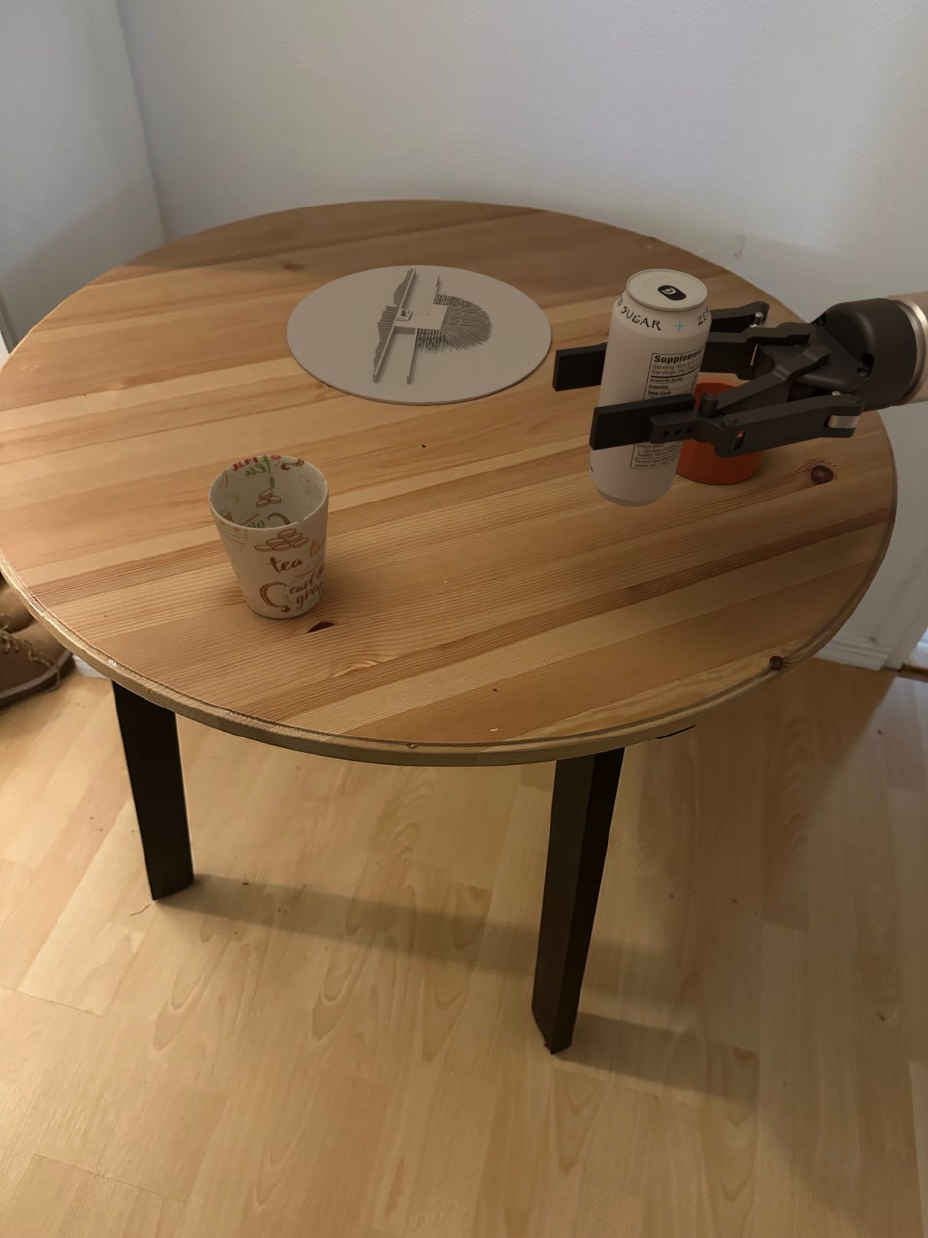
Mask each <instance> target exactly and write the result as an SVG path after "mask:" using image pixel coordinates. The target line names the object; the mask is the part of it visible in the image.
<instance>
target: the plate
mask: <svg viewBox="0 0 928 1238" xmlns="http://www.w3.org/2000/svg"><path fill="white" fill-rule="evenodd" d="M286 341H287V342H286V343H287V345H288V346H287V347H288V349H289V351H290V353H291V355H292V357H293V359H294V360H295V362H297V363H298V364H299V366H300V367H301V368H302V369H303V370H305V372H307V373H308V374H310V375H311V376H312V377H313V378H315V379H316V380H318V381H319V382H321V383H323V384H325V385H327V386H329V387H331V388H333V389H335V390H337V391H339V392H342V393H345V394H348V395H350V396H354V397H357V398H361V399H364V400H369V401H375V402H379V403H380V402H381V403H386V404H394V405H403V406H404V405H405V406H406V405H407V406H436V405H437V406H438V405H450V404H456V403H462V402H467V401H468V402H469V401H471V400H476V399H481V398H484V397H487V396H490V395H492V394H495V393H498V392H502V391H503V390H506V389H509V388H511V387H512V386H515V385H516V384H518V383H521V382H522V381H523V380H525V379H526V378H527V377H529V376H530V375H531V374H532V373H534V372H535V371H536V370H537V369H538V368H539V367H540V366H541V364H542V363H543V362H544V361H545V359H546V357H547V355H548V353H549V351H550V346H551V342H552V328H551V324H550V322H549V319H548V318H547V315H546V314H545V312H544V311H543V309H542V308H541V307H540V305H538V304H537V302H535V301H534V300H533V299H532V298H530V297H529V296H528V295H527V294H525V293H524V292H522V291H521V290H519V289H518V288H516V287H514V286H512V285H510V284H509V283H507V282H505V281H502V280H499V279H497V278H495V277H491V276H490V275H486V274H483V273H479V272H476V271H471V270H467V269H462V268H456V267H450V266H442V265H429V264H428V265H427V264H411V265H406V264H405V265H394V266H385V267H378V268H377V267H376V268H371V269H367V270H363V271H359V272H355V273H351V274H349V275H345V276H343V277H340V278H337V279H334V280H332V281H329V282H328V283H326V284H325V283H324V284H323V285H321V286H319V287H318V288H316V289H315V290H313V291H312V292H310V293H309V294H308V295H306V296H305V297H304V298H303V299H302V300H300V302H299V303H298V304H296V306H295V307H294V309H293V310H292V312H291V314H290V315H289V318H288V321H287V324H286Z"/></svg>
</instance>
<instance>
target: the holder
mask: <svg viewBox="0 0 928 1238" xmlns="http://www.w3.org/2000/svg"><path fill="white" fill-rule="evenodd" d="M739 385H742V383H739V382H733V381H730V380H725V379H718V378H717V379H716V378H713V379H711V378H698V380H697V384H696V388H695V392H694V398H695V399H696V402H695V406H694V408H699V404H700V400H701V396H702V393H703V391H705V390H706V395H705V397H706V396H707V393H708V392H709V393H710V394H711V395H713V396H715V395H717V394H720V393H722V392H725V391H727V390H729V389H732V388H734V387H737V386H739ZM742 435H743V431H739V435H738V437H741V436H742ZM714 448H715V446H713V445H712V444H710V443H709V442H706V443H700V442H697V441H695V440H694V439H688V440H683V443H682V447H681V451H680V456H679V460H678V464H677V468H676V472H675V474H678V475H680V476H681V477H684V478H686V479H688V480H691V481H694V482H696V483H701V484H706V485H717V486H721V485H726V486H727V485H733V484H737V483H740V482H743V481H745V480H747V479H749V478H751V477H752V476H753V475H754V474H755V473H756V472H757V471H758V469H759V467H760V463H761V460H762V457H763V454H764V451H765V450H762V451H758V452H753V453H749V454H744V455H739V456H735V457H730V458H721V457H718V456H717V455H715V453H714Z"/></svg>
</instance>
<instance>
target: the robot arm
mask: <svg viewBox="0 0 928 1238" xmlns="http://www.w3.org/2000/svg"><path fill="white" fill-rule="evenodd" d="M770 307H771V306H770V303H768V302H765V301H762V300H761V301H760V300H757V301H753V302H749V303H747V304H744V305H741V306H738V307H729V308H716V309H715V308H714V309H709V311H710V314H711V325H710V329H709V334H708V338H707V342H706V346H705V350H704V355H703V359H702V363H701V367H700V371H699V373H707V374H710V373H711V374H733V375H735V376H736V377H737V379H738V380H739V381H747V382H744V383H741V385H739V386H737V387H734V388H732V389H729V390H727V391H725V392H722V393H720V394H717V395H715V396H713V395H711V394H710V393H709V392H708V393H707V396H706V397H705V395H706V390H705V391H703V393H702V396H701V400H700V404H699V408H694V406H695V402H696V399H695V398H694V396H693V395H692V394H691V393H687V394H681V395H675V396H668V397H661V398H654V399H648V400H641V401H634V402H628V403H621V404H614V405H608V406H601V407H598V406H595V407H594V406H593V407H594V408H593V414H592V420H591V428H590V432H589V439H588V445H589V447H590V449H591V448H592V450H593V451H595V450H601V449H607V448H613V447H619V446H626V445H632V444H638V443H644V442H650V443H651V444H663V443H667V442H668V443H669V442H673V441H674V442H675V441H681V440H688V439H694V440H695V441H697V442H700V443H706V442H709V443H710V444H712V445H713V446H715V448H714V453H715V455H717V456H718V457H721V458H730V457H735V456H739V455H744V454H749V453H753V452H758V451H762V450H764V451H766V450H771V449H775V448H780V447H784V446H789V445H793V444H797V443H804V442H807V441H813V440H817V439H820V438H823V439H851V438H852V437H853V436H854V434H855V431H856V429H857V426H858V424H859V421H860V418H861V416H862V414H863V413H867V412H873V411H874V412H875V411H878V410H879V411H881V410H885V409H889V408H890V407H901V406H907V405H913V404H919V403H924V402H925V403H926V402H928V290H925V291H924V290H923V291H917V292H909V293H908V292H907V293H900V294H892V295H888V296H886V297H874V298H866V299H859V300H852V301H843V302H839V303H836V304H834V305H832V306H830V307H828V308H827V309H826V310H825V311H824V312H822V313H821V314H820V315H819V316H817V317H816V318H815V319H813V321H810V322H796V321H784V322H781V323H779V322H778V321H776V320H774V319H773V318H771V317H770V316H768V314H769V312H770ZM607 343H608V341H603V342H600V343H598V344H592V345H585V346H575V347H570V348H563V349H556V350H555V353H554V354H555V355H554V362H553V363H554V365H553V372H552V374H553V375H552V382H551V387H552V388H553V389H554V392H556V393H557V392H564V391H570V390H578V389H584V388H592V387H597V386H601V382H602V376H603V369H604V363H605V356H606V350H607ZM739 431H743V435H742V436H741V437H738V435H739Z"/></svg>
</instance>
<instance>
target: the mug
mask: <svg viewBox="0 0 928 1238" xmlns="http://www.w3.org/2000/svg"><path fill="white" fill-rule="evenodd" d="M329 500H330V489H329V484H328V481H327V479H326V477H325V475H324V474H323V472H322V471H321V470H320V469H319V468H318V467H317V466H315V465H313V464H312V463H310V462H309V461H307V460H305V459H302V458H298V457H295V456H290V455H283V454H266V455H264V454H263V455H257V456H252V457H249V458H245V459H243V460H240V461H238V462H235V463H233V464H231V465H230V466H228V467H226V468H225V469H224V470H222V471H221V472H220V473H219V474H218V475H217V476H216V477H215V478H214V480H213V481H212V482H211V484H210V486H209V489H208V494H207V502H208V506H209V510H210V513H211V516H212V519H213V522H214V524H215V526H216V529H217V532H218V534H219V537H220V539H221V541H222V542H221V543H222V544H223V547H224V549H225V551H226V554H227V557H228V560H229V563H230V565H231V567H232V569H233V572H234V575H235V578H236V580H237V584H238V585H239V588H240V591H241V593H242V596H243V598H244V601H245V602H246V604H247V606H248V607H249V608H250V609H251V610H252V611H253V612H254V613H256V614H258V615H261V616H263V617H265V618H269V619H270V618H271V619H280V620H281V619H289V618H294V617H295V618H296V617H297V616H300V615H303V614H304V613H306V612H308V611H310V610H311V609H312V608H314V606H316V604H317V603H318V602H319V601H320V599H321V596H322V594H323V590H324V577H325V562H326V561H325V560H326V547H327V533H328V518H329V517H328V516H329V502H330V501H329Z"/></svg>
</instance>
